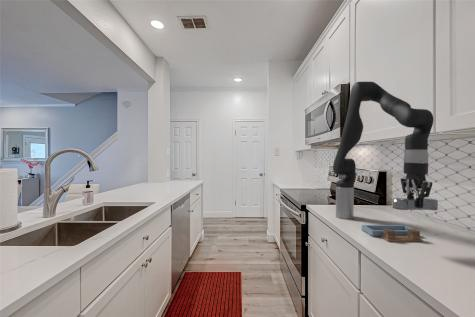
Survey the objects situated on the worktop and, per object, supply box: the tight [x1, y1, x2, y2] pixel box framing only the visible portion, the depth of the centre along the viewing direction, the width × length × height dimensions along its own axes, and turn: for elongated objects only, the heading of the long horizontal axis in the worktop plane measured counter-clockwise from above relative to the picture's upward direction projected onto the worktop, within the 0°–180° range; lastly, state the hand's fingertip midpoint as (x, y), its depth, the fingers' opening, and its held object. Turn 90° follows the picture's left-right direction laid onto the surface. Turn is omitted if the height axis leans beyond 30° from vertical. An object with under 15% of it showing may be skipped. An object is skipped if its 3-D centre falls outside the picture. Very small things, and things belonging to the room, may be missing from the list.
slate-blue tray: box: [361, 224, 414, 238], centre depth 108 cm, size 9×20×2 cm, turn 90°
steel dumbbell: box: [392, 197, 439, 211], centre depth 93 cm, size 5×16×4 cm, turn 90°
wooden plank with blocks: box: [380, 228, 424, 243], centre depth 100 cm, size 5×14×4 cm, turn 90°
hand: (414, 206), depth 93 cm, fingers closed on steel dumbbell, 4 cm apart
